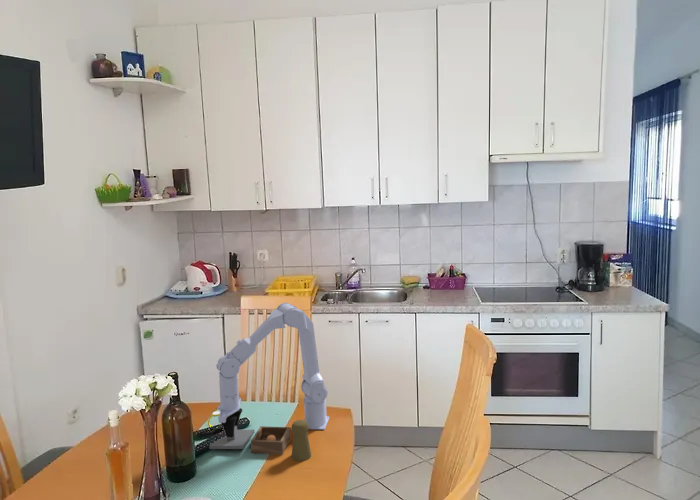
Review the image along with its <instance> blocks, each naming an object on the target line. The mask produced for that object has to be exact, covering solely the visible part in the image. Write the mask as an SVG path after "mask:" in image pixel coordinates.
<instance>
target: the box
mask: <svg viewBox="0 0 700 500" xmlns="http://www.w3.org/2000/svg"><path fill="white" fill-rule="evenodd" d="M269 435H274V436H275V437H276V441H268V440H266V439H267V437H268V436H269ZM251 438H252V439H250V453H251V454H260V455H280V456H281V455H282V456H283V454H284V453H285V450H286V449H287V447H288V446H289V445H288V444H289V443H290V441H291V439H292V437H291V427H288V426H262V425H261V426H259V428H258V429H257V431H256V432H255V433H254V434H253V436H252V437H251Z"/></svg>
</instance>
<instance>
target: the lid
mask: <svg viewBox="0 0 700 500" xmlns="http://www.w3.org/2000/svg"><path fill="white" fill-rule="evenodd" d="M255 434H256V432H255V429H237V425H235V426H234V436H233V437H226V436H225V437H223V438H221V439H219V440H217V441H215V442H214V443H212V442H211V443H212V444H211V443H210V445H209V447H208V448H209V450H244V448H245V447H246V446H247V444H248V443H249V441H251V438H253V436H254V435H255Z"/></svg>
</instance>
